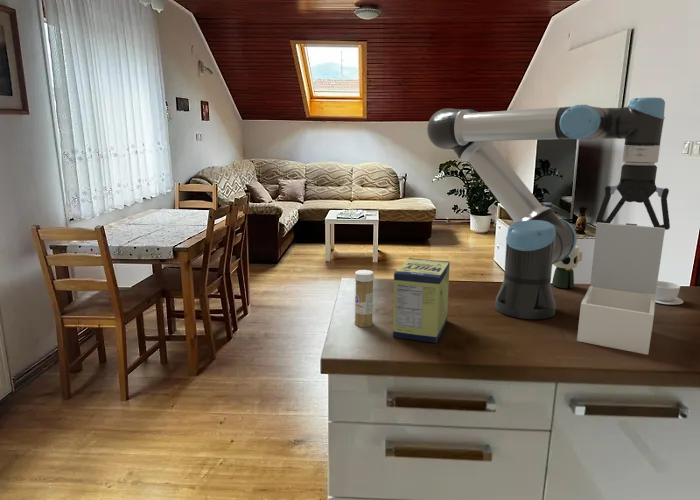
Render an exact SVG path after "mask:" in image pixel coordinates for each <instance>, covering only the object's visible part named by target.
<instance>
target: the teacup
mask: <svg viewBox="0 0 700 500" xmlns="http://www.w3.org/2000/svg"><path fill="white" fill-rule="evenodd" d="M680 289H681V286H680V285H679V284H678V283H673V282H671V281H670V282H669V281H664V280H663V281H662V280H658V281H657V288H656V295H655V304H657V303H658V304H661V305H662V304H663V305H681V304H683V303H684V300H683V299H681V298H679V297H678V295H679V293H680ZM651 295H654V294H651Z"/></svg>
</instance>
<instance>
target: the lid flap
mask: <svg viewBox="0 0 700 500" xmlns="http://www.w3.org/2000/svg"><path fill="white" fill-rule="evenodd" d="M595 228H596V229H595V236H594V246H593V254H592V255H593V257H592V264H591V266H592V267H591V275H590V284H589V285H590V286H594V287H601V288H608V289H615V290H622V291H629V292H637V293H644V294H654V295H656V288H657V281H659V275H660V274H659V273H660V266H661V259H662V254H663V253H662V252H663V247H664V239H665V232H666V230H665V228H659V227H654V226H645V225H638V223H626V224H622V223H621V224H620V223H598V222H597V223H596V227H595ZM590 286H589V287H590Z"/></svg>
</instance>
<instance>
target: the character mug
mask: <svg viewBox="0 0 700 500" xmlns="http://www.w3.org/2000/svg"><path fill="white" fill-rule="evenodd" d="M582 260H583V251H582V250H580V246H578V245H576V246H575V248H574V250H573V252H572V253H571V254H570V255H569V256H568V257H567V258H565V259H564V260H562V261H559V262H556V263H554V264H552V266H554V267H556V268H555V270H554V273H553V277H552V281H551V285H553V286H554V287H556V288H559V289H560V288H561V289H568V286H569V289H572V288H573V289H574V286H575V280H574V279H575V276H574V275H575V274H574V269H575V268H577V267H578V265H579V262H582Z"/></svg>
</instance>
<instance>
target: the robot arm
mask: <svg viewBox="0 0 700 500" xmlns="http://www.w3.org/2000/svg"><path fill="white" fill-rule="evenodd" d="M665 104H666V101H665V100H664V98H662V97H656V96H655V97H650V96H649V97H634V98H632V99H630V100H629V104H628V106H624V107H623V106H622V107H600V106H598V107H597V106H592V105H588V104H575V105H573V106H564V107H563V106H562V107H561V106H560V107H558V106H557V107H545V108H542V107H541V108H529V109H528V108H527V109H513V110H511V109H509V110H500V111H498V110H497V111H481V112H479V111H476V110H474V109H468V108H466V109H460V108H459V109H458V108H450V107H449V108H441V109H440V110H439V109H438V111H436V112H435V113H433V114H432V116H431V117H430V119H429V120H428V123H427V128H426V129H427V130H426V131H427V136H428V139H429V141H430V142H431V144H432V145H434V146H436V147H437V148H439V149H443V150H452V151H453V152H454V153H455V154H456V156H457V157H458V158H459V160H460V161H461V162H466V163H469V165H471V167H472V168H473V170H474V171H475V172H476V173H477V175H478V176H479V177H480V179H481V180H482V181H483V182H484V184H485V185H486V187H487V188H488V189H489V190H490V192H491V193H492V194H493V196H494V197H495V199H496V200H497V201H498V202H499V204H500V205H501V206H502V208H503V209H504V210H505V211H506V213H507V214H508V215H509V217H510V218H511V220H513V223H511V224H510V225H509V227H508V229H507V235H506V237H505V241H506V243H505V259H504V262H505V263H504V273H503V274H504V275H503V281H502V283H501V286H500V289H499V290H498V293H497V294H496V297H495V301H494V302H495V305H494V307H495V309H496V311H498V312H499V313H501V314H503V315H506V316H509V317H513V318H518V319H524V320H544V319H549V318H551V317H553V316H555V314H556V307H557V306H556V302H555V297H554V294H553V290H552V281H551V280H552V273H553V272H552V271H553V264H554V263H556V262H559V261H562V260H564V259H565V258H567V257H568V256H569V255H570V254H571V253H572V252H573V250H574V248H575V246H577V242H578V241H577V240H578V239H577V233H576V230H575V228H574V226H573V225H572V224H571V223H570V222H568V221H567V220H565V219H561V218H559V217H558V214H556V213H555V212H554V210H553V209H552V208H551V207H547V206H543V205H541V203H540V202H539V200H538V199H537V198H536V197H535V195H534V194H533V193H532V192H531V190H530V189H529V188H528V186H527V185H526V183H525V182H523V180H522V179H521V178H520V176H519V175H518V174H517V173H516V171H515V169H514V168H512V166H511V165H510V164H509V162H508V160H506V159H505V157H504V156H503V154H501V152H500V151H499V149H497V147H496V146H495V145H494V142H501V141H537V140H539V141H540V140H541V141H542V140H596V139H597V140H598V139H599V140H602V139H603V140H610V139H614V140H618V139H619V140H622V139H623V140H624V146H623V155H622V162H623V163H624V164H622V165H621V170H620V176H619V177H620V178H619V182H618V184H617V185H610V184H609V185H607V186H605V187H604V197H603V200H602V203H601V206H600V208H599V212H598V214H597V217H596V219H595V224H597V222H598V223H610V224H612V221H613V220H614V219H615V217H616V215H617V214H618V213H619V211H620V210H621V209H622V208H623V205H624V204H625V203H626V202H627V203H633V202H635V203H640V204H641V203H643V205H644V207H645V209H646V212H647V214H648V216H649V220H650V221H651V224H652V227H659V228H665V231H666V230H667V231H668V230H670V227H671V225H670V224H671V223H670V217H669V216H670V215H669V206H668V195H669V191H670V189H669V188H668V187H665V188H663V187H658V186H657V185H656V178H657V171H658V170H657V169H658V166H657V165H655V164H657V163H659V158H660V156H659V155H660V150H661V140H662V134H663V128H664V121H665V106H666V105H665ZM616 190H617V192H618V193H619V194H620V196H621V198H620V200H619V201H618V202H617V204H616V205H615V207H614V208H613V210H612V211H611V213H610V214H609V216H608V217H607V218H606V219H603V218H604V216H605V213H606V211H607V208H608V206H609V203H610V200H611V196H612V195H614V194H615V192H616ZM655 192H656V193H657V196H658V197H659V198H660V205H661V213H662V221H663V224H661V223H660V222H659V219H658V217H657V215H656V212H655V209H654V207H653V205H652V203H651V199H650V198H651V196H652V195H654V193H655Z"/></svg>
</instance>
